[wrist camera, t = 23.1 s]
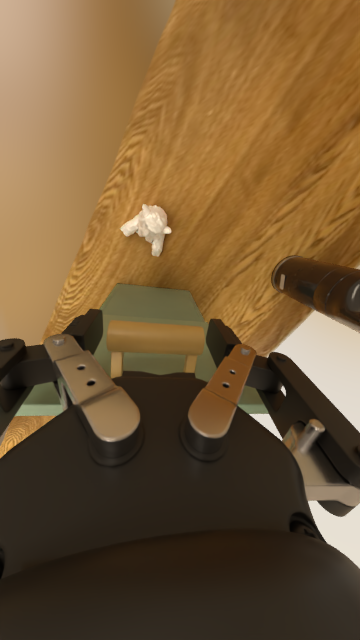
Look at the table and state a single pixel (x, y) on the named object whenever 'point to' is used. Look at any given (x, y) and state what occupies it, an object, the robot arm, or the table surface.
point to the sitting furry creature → (149, 227)
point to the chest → (151, 303)
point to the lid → (145, 358)
